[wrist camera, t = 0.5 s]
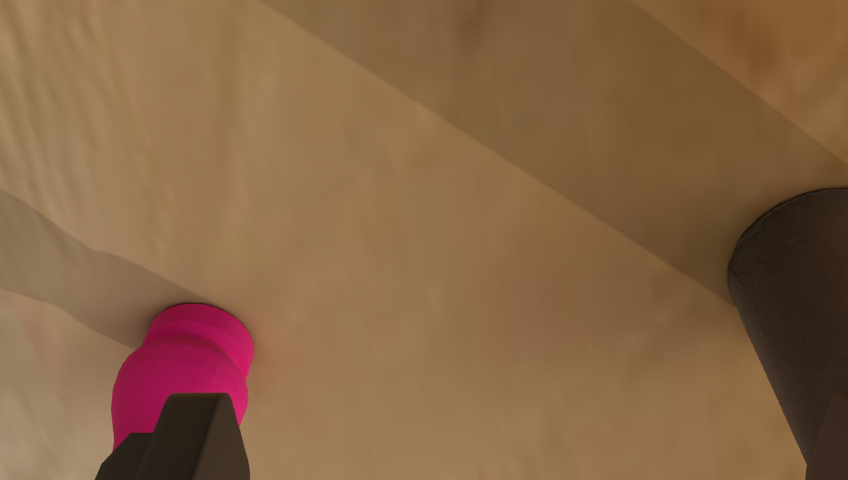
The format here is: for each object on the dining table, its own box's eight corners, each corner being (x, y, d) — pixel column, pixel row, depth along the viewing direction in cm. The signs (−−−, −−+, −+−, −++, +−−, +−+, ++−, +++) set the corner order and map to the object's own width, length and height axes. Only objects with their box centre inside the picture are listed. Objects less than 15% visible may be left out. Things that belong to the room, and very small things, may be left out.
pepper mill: (274, 382, 50) (184, 724, 34) (162, 388, 51) (21, 725, 35) (247, 291, 46) (129, 630, 30) (125, 299, 47) (-54, 634, 31)
